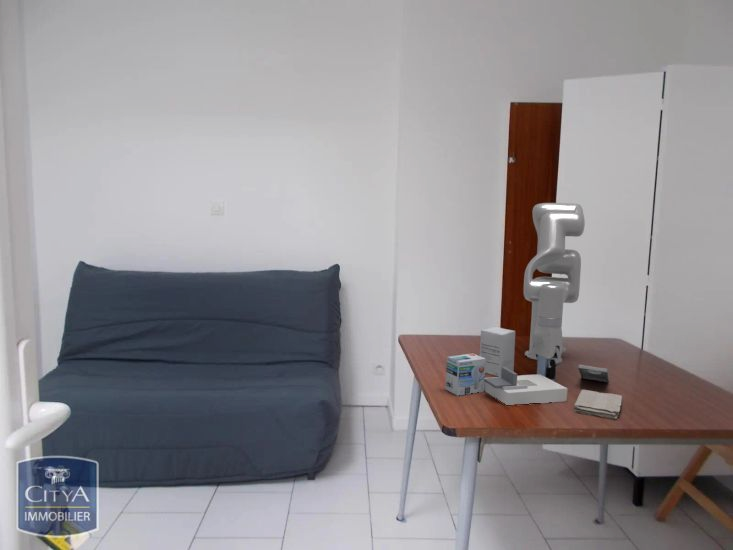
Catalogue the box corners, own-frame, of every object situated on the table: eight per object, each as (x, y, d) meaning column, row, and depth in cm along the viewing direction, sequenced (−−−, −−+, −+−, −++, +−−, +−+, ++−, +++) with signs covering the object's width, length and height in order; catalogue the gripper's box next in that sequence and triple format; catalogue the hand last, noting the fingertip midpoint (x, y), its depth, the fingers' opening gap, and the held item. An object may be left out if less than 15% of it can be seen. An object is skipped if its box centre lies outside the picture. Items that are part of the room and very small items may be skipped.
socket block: (539, 386, 171) (540, 371, 170) (566, 401, 157) (567, 385, 157) (483, 390, 165) (484, 375, 165) (507, 406, 152) (508, 390, 151)
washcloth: (572, 414, 149) (573, 403, 148) (579, 395, 164) (580, 385, 164) (619, 422, 143) (620, 411, 143) (621, 402, 159) (622, 392, 159)
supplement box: (491, 366, 192) (494, 326, 190) (514, 372, 185) (516, 330, 184) (477, 371, 185) (480, 329, 184) (500, 377, 179) (502, 334, 177)
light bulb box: (457, 396, 159) (459, 361, 158) (444, 389, 165) (445, 356, 164) (485, 391, 164) (487, 358, 163) (471, 385, 170) (473, 352, 169)
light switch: (609, 376, 177) (607, 366, 165) (607, 394, 175) (605, 384, 163) (582, 372, 181) (578, 361, 169) (580, 389, 179) (576, 379, 168)
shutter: (504, 379, 163) (504, 367, 162) (516, 386, 156) (517, 373, 156) (483, 380, 161) (484, 368, 160) (495, 388, 154) (496, 375, 154)
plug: (546, 382, 175) (549, 348, 174) (554, 386, 171) (556, 351, 170) (536, 383, 174) (538, 349, 172) (543, 387, 170) (545, 352, 169)
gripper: (524, 317, 177) (521, 370, 179) (555, 327, 161) (551, 385, 163) (544, 316, 179) (540, 368, 181) (576, 327, 163) (572, 384, 165)
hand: (545, 376), depth 172 cm, fingers closed on plug, 4 cm apart
